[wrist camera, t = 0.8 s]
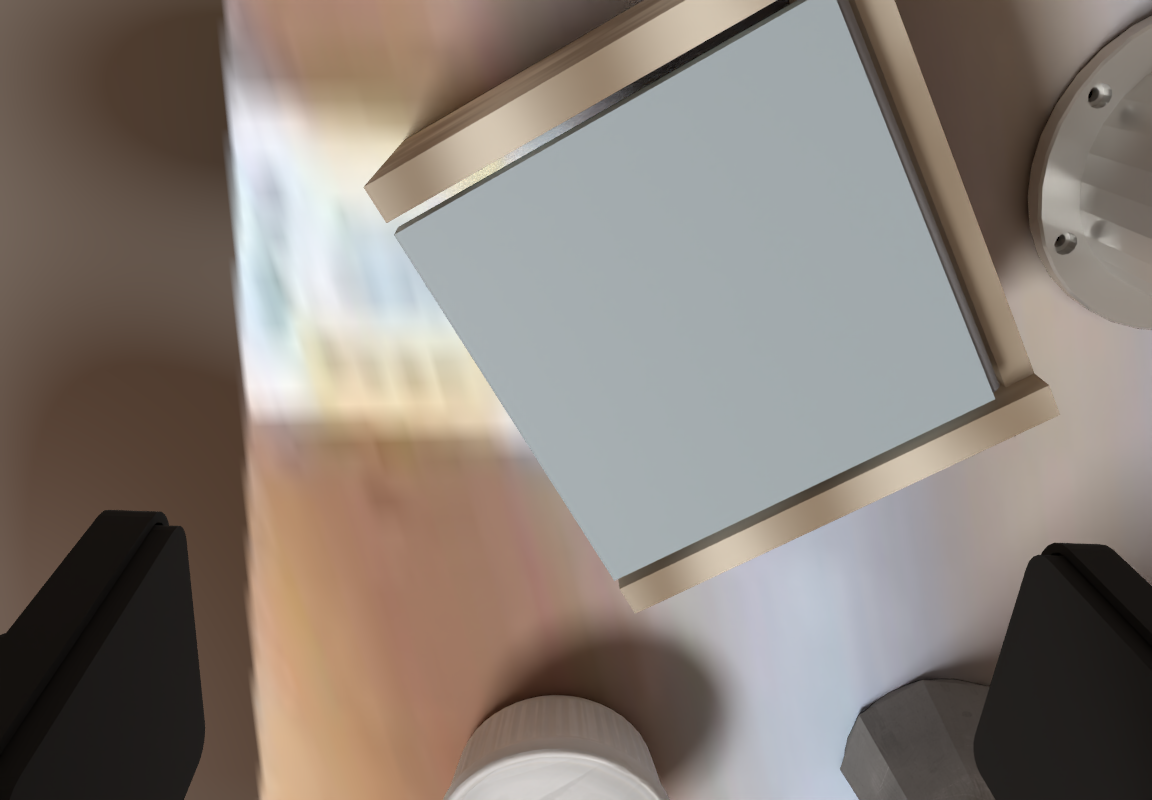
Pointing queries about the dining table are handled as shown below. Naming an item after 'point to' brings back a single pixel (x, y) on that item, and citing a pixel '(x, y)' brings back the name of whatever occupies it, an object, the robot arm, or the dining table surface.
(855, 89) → the trapdoor
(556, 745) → the ramekin
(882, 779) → the coffeepot
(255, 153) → the dining table surface
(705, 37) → the stand
